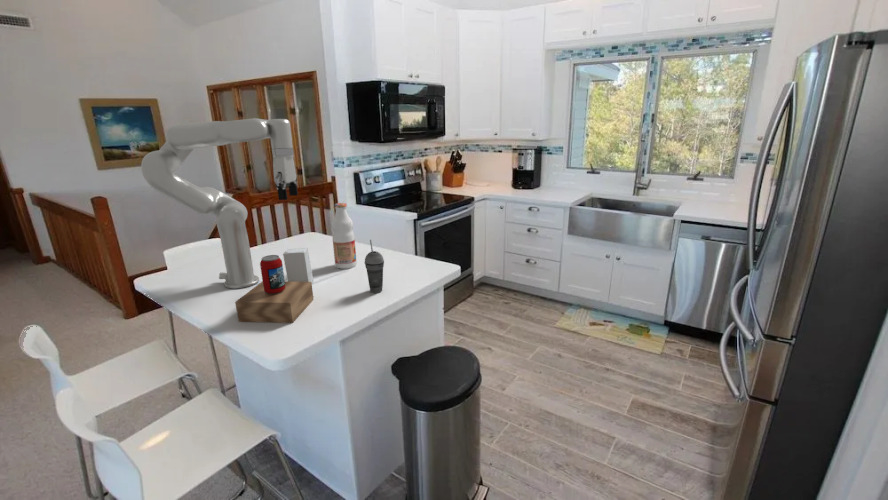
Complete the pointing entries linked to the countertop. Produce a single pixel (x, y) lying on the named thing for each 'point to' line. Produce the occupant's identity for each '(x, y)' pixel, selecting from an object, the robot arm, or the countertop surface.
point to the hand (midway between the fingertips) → (288, 197)
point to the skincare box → (298, 265)
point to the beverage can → (272, 274)
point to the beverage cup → (374, 270)
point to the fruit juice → (343, 238)
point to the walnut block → (275, 303)
